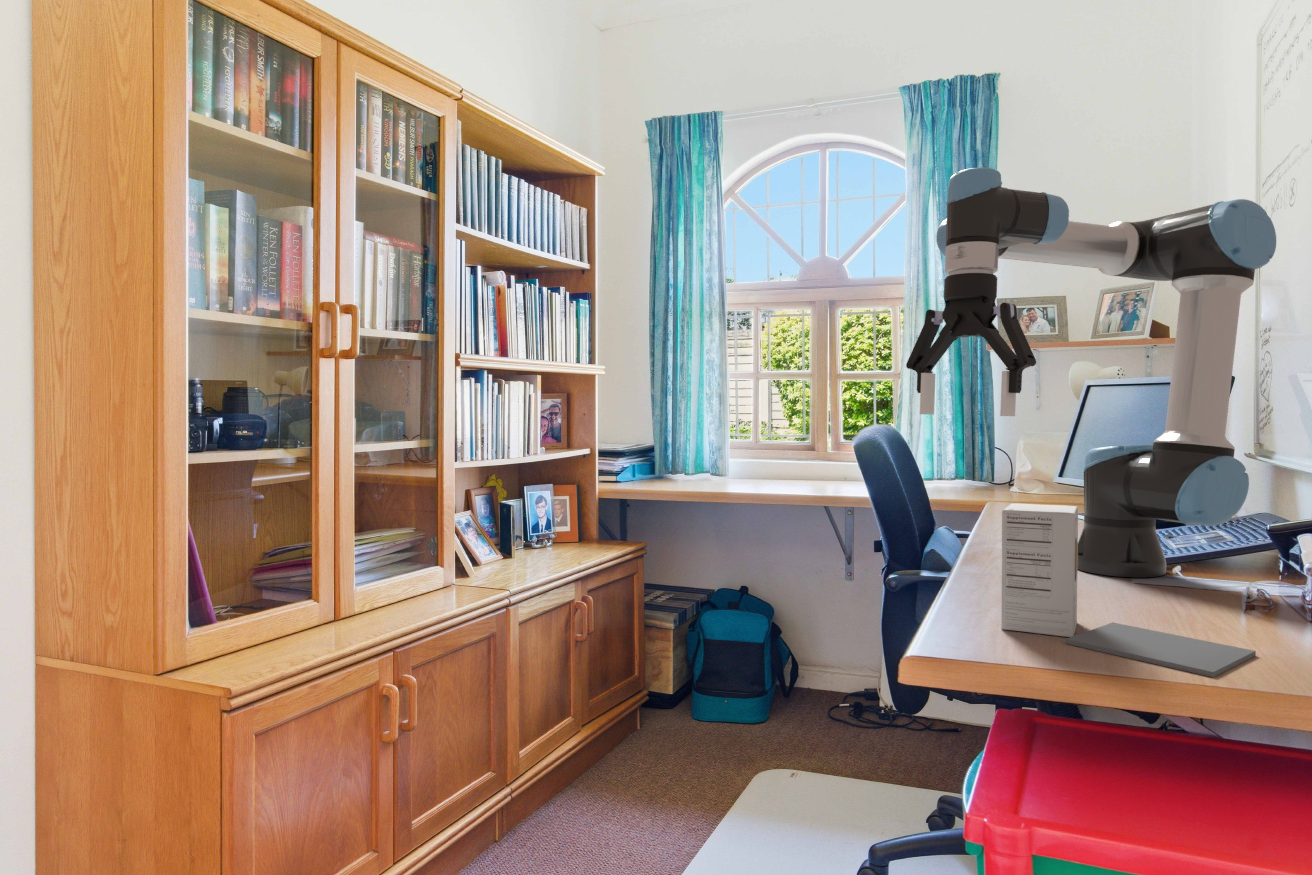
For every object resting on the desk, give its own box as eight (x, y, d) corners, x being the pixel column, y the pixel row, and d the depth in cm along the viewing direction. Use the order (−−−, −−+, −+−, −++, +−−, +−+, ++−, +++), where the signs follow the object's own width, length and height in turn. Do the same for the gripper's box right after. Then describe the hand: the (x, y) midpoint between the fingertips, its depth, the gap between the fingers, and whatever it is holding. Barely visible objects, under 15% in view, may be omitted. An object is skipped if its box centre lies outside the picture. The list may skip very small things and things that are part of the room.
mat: (1112, 626, 116) (1112, 622, 116) (1255, 655, 103) (1255, 650, 103) (1065, 643, 109) (1065, 638, 109) (1213, 677, 95) (1213, 671, 95)
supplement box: (1074, 638, 111) (1076, 512, 110) (1000, 630, 115) (1001, 509, 115) (1077, 621, 119) (1079, 504, 118) (1008, 614, 124) (1009, 501, 123)
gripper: (887, 281, 134) (882, 413, 134) (1038, 261, 114) (1031, 416, 115) (915, 286, 138) (910, 414, 139) (1065, 268, 118) (1059, 417, 119)
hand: (965, 415), depth 127 cm, fingers open, 13 cm apart
